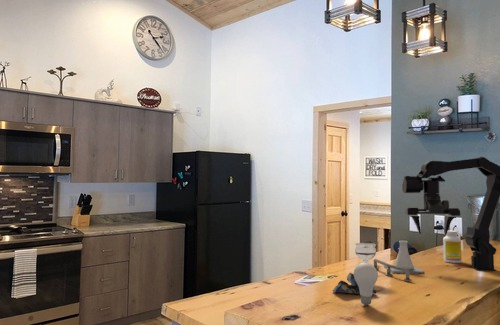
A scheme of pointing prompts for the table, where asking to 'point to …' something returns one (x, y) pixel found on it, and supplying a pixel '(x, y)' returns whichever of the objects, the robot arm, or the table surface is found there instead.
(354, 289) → the snack package
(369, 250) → the wineglass
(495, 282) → the table surface
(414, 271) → the slate coaster
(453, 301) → the table surface
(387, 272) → the bent rail
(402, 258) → the flask
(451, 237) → the supplement bottle
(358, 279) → the lightbulb
